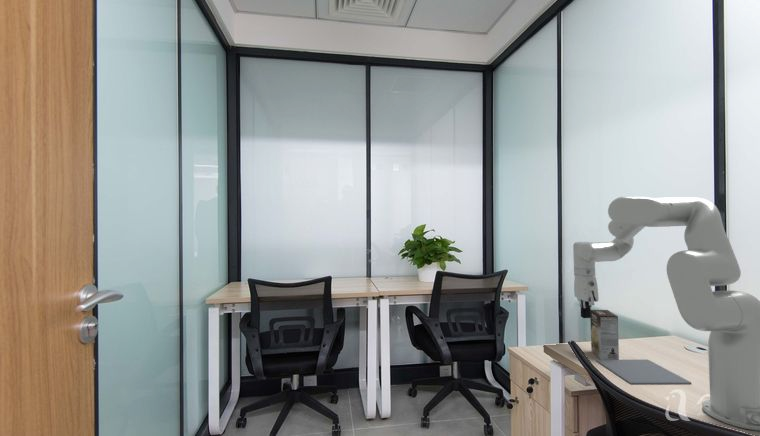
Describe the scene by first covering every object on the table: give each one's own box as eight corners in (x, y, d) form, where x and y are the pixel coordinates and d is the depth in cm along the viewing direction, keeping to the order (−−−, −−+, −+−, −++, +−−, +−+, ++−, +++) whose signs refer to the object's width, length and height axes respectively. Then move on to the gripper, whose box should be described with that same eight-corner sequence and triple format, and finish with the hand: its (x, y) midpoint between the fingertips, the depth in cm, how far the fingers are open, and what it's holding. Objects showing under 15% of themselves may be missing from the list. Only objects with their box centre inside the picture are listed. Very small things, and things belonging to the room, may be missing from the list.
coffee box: (590, 351, 134) (589, 309, 134) (608, 351, 133) (607, 309, 133) (600, 360, 125) (599, 315, 125) (620, 361, 124) (618, 315, 124)
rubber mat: (691, 384, 106) (691, 382, 106) (630, 384, 106) (630, 382, 106) (647, 360, 124) (647, 359, 124) (596, 361, 124) (596, 359, 124)
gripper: (605, 274, 134) (606, 322, 134) (583, 269, 149) (585, 312, 149) (585, 275, 134) (586, 322, 134) (565, 270, 149) (567, 312, 149)
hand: (585, 317), depth 141 cm, fingers closed
